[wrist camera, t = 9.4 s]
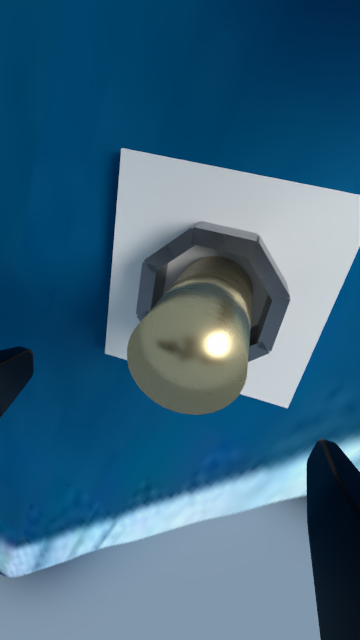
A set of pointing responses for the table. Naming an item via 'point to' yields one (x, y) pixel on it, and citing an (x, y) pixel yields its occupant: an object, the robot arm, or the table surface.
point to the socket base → (245, 214)
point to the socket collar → (231, 243)
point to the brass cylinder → (196, 339)
